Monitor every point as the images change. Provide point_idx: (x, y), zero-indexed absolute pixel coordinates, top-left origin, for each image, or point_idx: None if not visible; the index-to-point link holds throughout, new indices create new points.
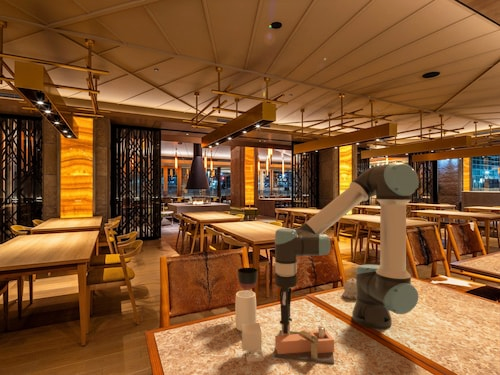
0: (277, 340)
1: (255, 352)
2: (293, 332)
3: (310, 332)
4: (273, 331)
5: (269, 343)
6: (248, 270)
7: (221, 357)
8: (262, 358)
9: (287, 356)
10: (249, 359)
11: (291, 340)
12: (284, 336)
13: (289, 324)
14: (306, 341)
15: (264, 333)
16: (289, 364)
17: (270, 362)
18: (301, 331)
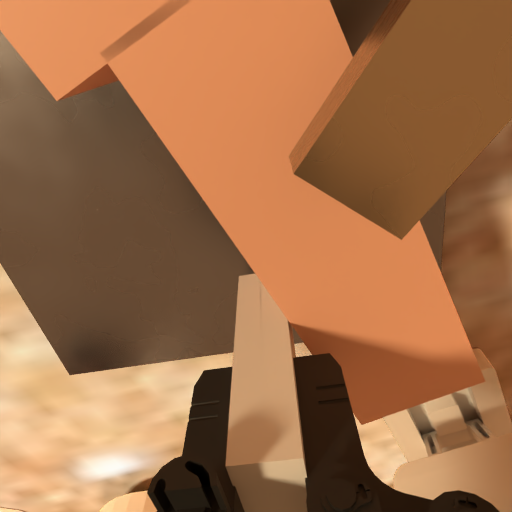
0: (451, 390)
1: (431, 418)
2: (26, 275)
3: (73, 55)
4: (85, 393)
5: None
6: None
7: None
8: (493, 369)
9: (442, 226)
10: (510, 421)
11: (426, 273)
12: (352, 357)
13: (299, 442)
14: None
15: (147, 427)
16: (496, 182)
17: (485, 311)
18: (358, 205)
